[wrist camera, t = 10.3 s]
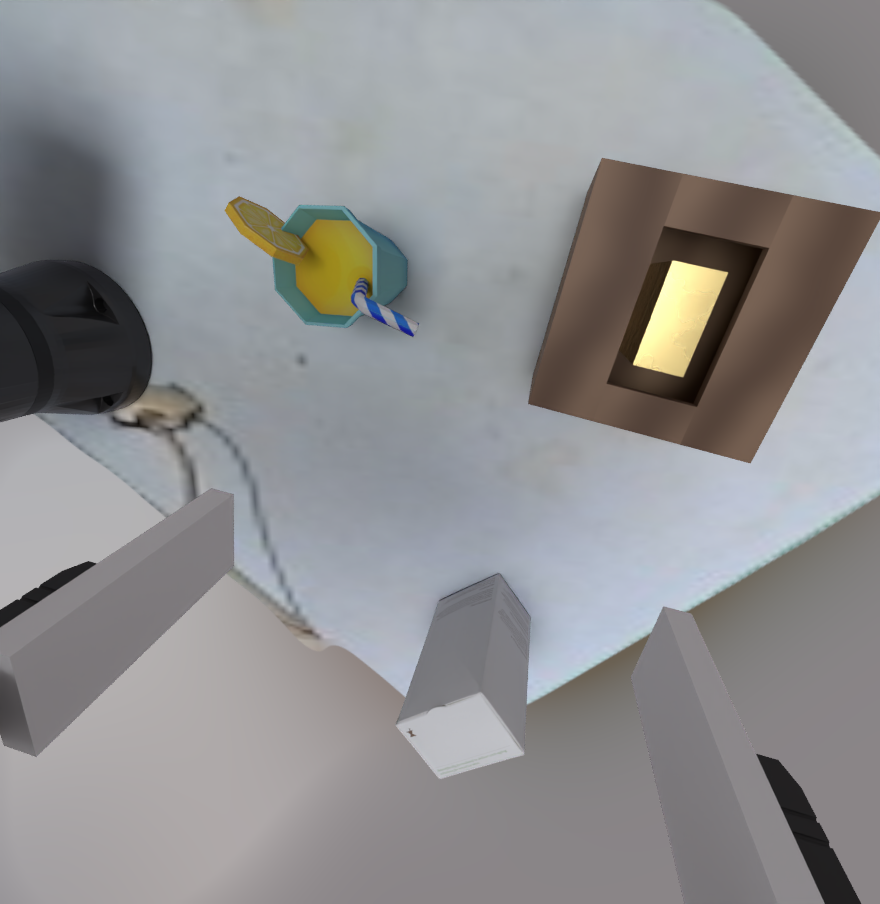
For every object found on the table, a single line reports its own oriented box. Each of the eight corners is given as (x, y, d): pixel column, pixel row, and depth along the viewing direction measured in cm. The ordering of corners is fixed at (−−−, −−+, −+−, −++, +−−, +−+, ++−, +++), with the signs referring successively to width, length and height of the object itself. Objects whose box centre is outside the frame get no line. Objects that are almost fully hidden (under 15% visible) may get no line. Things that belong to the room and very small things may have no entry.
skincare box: (468, 642, 51) (436, 784, 36) (435, 597, 49) (388, 725, 35) (534, 616, 48) (528, 760, 33) (500, 567, 46) (479, 695, 32)
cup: (482, 269, 37) (442, 263, 23) (441, 355, 40) (386, 394, 26) (331, 191, 38) (206, 140, 24) (303, 282, 41) (178, 283, 27)
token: (613, 345, 36) (632, 364, 28) (642, 265, 34) (672, 260, 26) (652, 355, 36) (683, 377, 27) (684, 274, 33) (728, 272, 25)
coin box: (533, 374, 39) (527, 403, 30) (587, 191, 34) (602, 158, 24) (701, 418, 37) (750, 463, 28) (787, 232, 32) (883, 212, 23)
